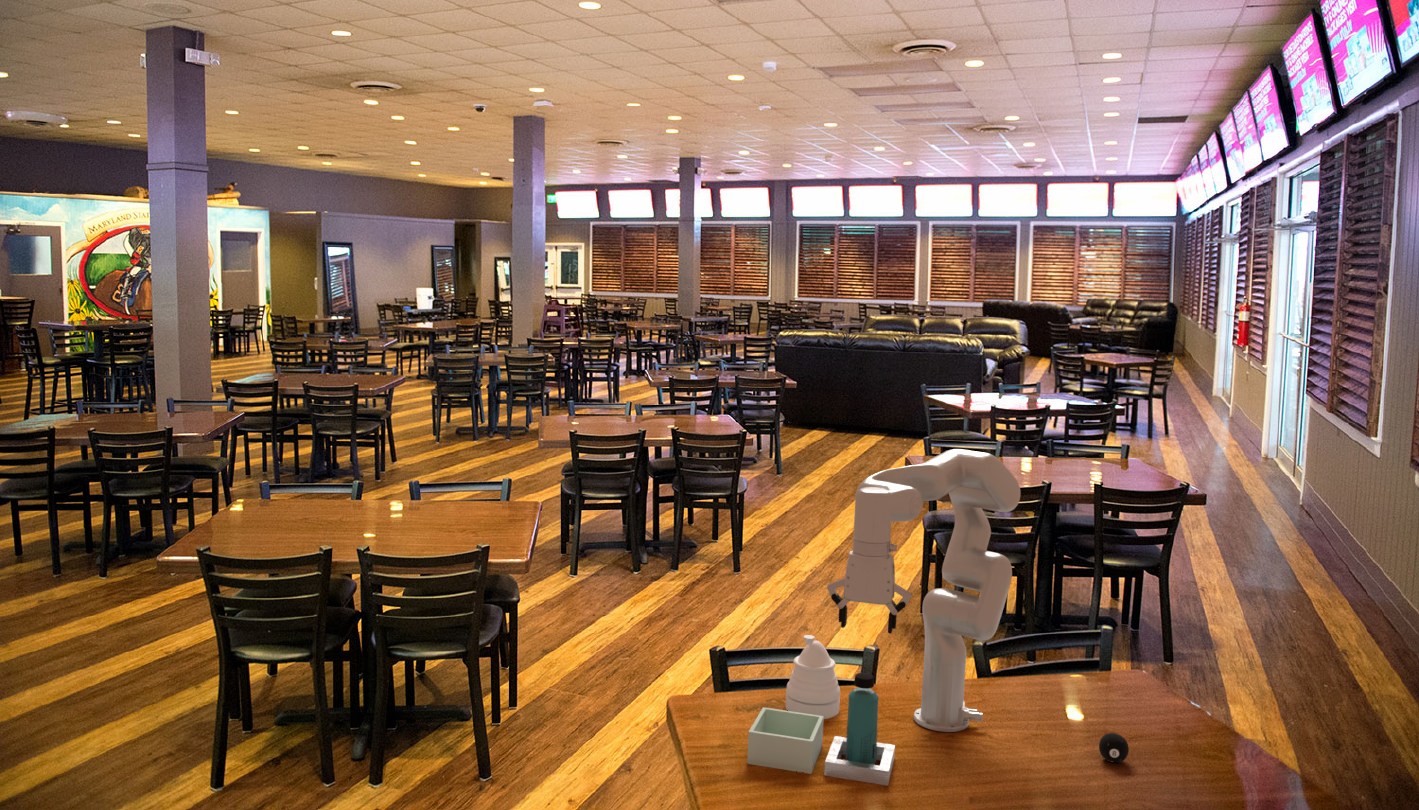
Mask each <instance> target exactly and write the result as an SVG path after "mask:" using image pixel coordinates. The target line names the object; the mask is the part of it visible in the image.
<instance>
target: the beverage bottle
mask: <svg viewBox="0 0 1419 810" xmlns="http://www.w3.org/2000/svg"><path fill="white" fill-rule="evenodd" d="M853 685H854V686H855V687H856V688H854V689H852V690H851V691H850V692H849V693H848V705H847V711H848V712H847V723H846V738H847V746H846V752H845V753H846V754H845V755H844V756H845V758H846V759H845V760H846V761H853V762H859V763H866V764H872V765H875V763H876V761H877V760H876V758H877V757H876V755H877V748H876V743H877V742H878V737H879V736H878V733H879V732H878V731H879V729H878V722H879V721H878V720H879V717H878V713H879V699H880V698H879V697H880V696H879V695H878V694H877V693H876V692H875V690H873V689H872V688H874V686H875V680H874V675H872V674H871V673H867V672H858V673H856V674H855V676H854V681H853Z"/></svg>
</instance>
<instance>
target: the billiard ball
mask: <svg viewBox="0 0 1419 810" xmlns="http://www.w3.org/2000/svg"><path fill="white" fill-rule="evenodd" d="M1098 750H1099V753H1100V755H1101V756H1102V758H1103V759H1104V758H1105V759H1104V760H1106V761H1107V760H1109V761H1108V762H1110V761H1113V762H1118V763H1122V762H1125V760H1126V758H1127V757H1128V755H1129V750H1130V747H1129V744H1128V741H1127V740H1126V738H1125V737H1124V736H1122V735H1120V734H1119V733H1116V732H1115V733H1114V732H1113V733H1112V732H1111V733H1110V732H1108V733H1106V734H1104V735H1103V736H1102V737H1100V740H1099V744H1098ZM1113 762H1112V763H1113Z"/></svg>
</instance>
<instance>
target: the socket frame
mask: <svg viewBox="0 0 1419 810" xmlns="http://www.w3.org/2000/svg"><path fill="white" fill-rule="evenodd" d="M846 746H847V737H844V736H843V737H842V736H838V735H834V737H833V740H832V742H831V744H830V747H829V751H828V753H827V756H826V758H825V761H824V774H823V775H824V776H826V777H833V778H839V779H844V780H850V781H856V782H857V781H858V782H863V783H869V784H876V785H881V786H886V787H887V786H889V783H890V779H891V774H892V770H893V766H894V761H895V754H896V745H895V744H891V743H883V742H878V741H877V743H876V748H877V755H876V757H877V758H876V761H880V764H879V765H877V764H873V765H872V764H866V763H859V762H853V761H847V759H842V755H843V756H846V755H845V754H846V753H845V752H846Z"/></svg>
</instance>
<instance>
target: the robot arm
mask: <svg viewBox="0 0 1419 810" xmlns="http://www.w3.org/2000/svg"><path fill="white" fill-rule="evenodd" d="M946 495H949V498H950V502H951V506H952V509H953V514H954V527H953V531H952V534H951V538H950V540H949V543H948V546H947V551H946V553H945V556H944V560H943V563H942V567H941V573H942V574H941V575H942V578H943V579H944V581H946V582H947V583H949V584H951V585H954V586H957V587H960V588H963V589H969V590H972V591H976V592H980V593H979V596H978V595H974V594H969V593H966V592H963V591H958V590H954V589H951V588H950V589H949V588H945V587H944V588H943V587H941V588H939V587H938V588H934V589H932V590H930V591H928V592H927V593H926V595H925V596H924V598H923V601H922V619H923V625H924V626H923V627H924V651H923V652H924V654H923V656H924V657H923V668H922V669H923V671H922V673H923V674H922V685H921V705H920V708H917V709H916V710H915V711H914V712H913V720H914V721H915V723H917V725H919V726H921V727H923V728H925V729H928V730H932V731H936V732H942V733H955V732H957V733H958V732H961V731H964V730H965V729H968V727H969V725H970V721H971V720H972V721H975V722H981V723H982V722H983V712H978V709H976V708H975V709H974V708H968V707H967V706H965V704H966V703H965V701H964V697H965V695H964V694H965V680H966V679H965V678H966V665H967V662H966V661H967V648H966V643H965V641H964V638H963V637H966V638H970V639H973V640H977V641H988V640H990V639H992V638H993V636H994V635H995V634H996V632H997V630H998V627H999V624H1000V620H1001V618H1002V615H1003V610H1004V608H1005V604H1006V601H1007V598H1008V594H1009V591H1010V587H1011V583H1012V578H1013V570H1012V569H1013V568H1012V564H1011V561H1010V560H1009V558H1008V557H1006V555H1003V554H1001V553H999V552H994V551H990V550H988V546H989V542H990V538H991V535H992V529H991V526H990V522H989V519H988V518H987V516H986V513H985V511H984V510H988V511H993V512H999V513H1008V512H1011V511H1014V510H1015V509H1016V507H1017V506H1018V505H1019V502H1020V499H1021V488H1020V483H1019V482H1018V480H1017V478H1016V477H1015V475H1014V474H1013V473H1012V472H1011V470H1009V469H1008V467H1007V466H1006V465H1005V464H1004V462H1003V461H1001V460H1000V459H999V458H998V457H996V456H995V455H993V454H991V453H989V452H984V451H983V452H982V451H975V450H969V449H963V448H953V449H949V450H946V451H943V452H942V453H940V454H938V455H936V456H933V458H930V459H929V460H927V461H924V462H922V463H919V464H912V465H911V464H910V465H906V466H902V467H895V468H888V469H885V470H881V471H879V472H876V473H874V474H872V475H870V476H868V477H866V478H865V479H863V481H861V483H859V485H858V486H857V489H856V491H855V495H854V496H855V497H854V501H855V502H854V517H853V518H854V519H853V520H854V522H853V540H852V550H850V551H849V553H848V557H847V562H846V568H845V574H844V577H843V578H840V579H837V580H835V581H833V582H831V583H828V584H827V585H826V588H827V591H828V594H829V595H830V599H831V600H832V601H833V603H835V605H836V606H837V608H838V623H840V627H841V628H843V629H844V628H846V625H847V623H848V622H847V621H848V606H847V604H848V603H850V602H854V603H855V602H856V603H861V604H870V605H871V604H872V605H883V606H884V605H885V606H886V608H887V610H889V613H888V620H887V621H888V622H887V623H888V625H887V633H888V634H890V635H891V634H892V633H893V629H894V630H896V628H897V617H898V613H900V612H901V611H902V610H903V609H905V608H906V606H907V605H908V603H909V602H910V600H911V597H913V596H912V593H911V592H910V591H908V590H907V589H905V588H903V587H902V586H900V585H899V584H897V583H896V576H895V575H896V570H895V569H896V568H895V567H896V566H895V558H894V555H893V554H892V552H897V551H898V544H894V543H892V541H891V531H892V523H893V522H904V523H905V522H910V521H912V520H914V519H916V518H917V517H918V516H919V515H920V514H921V512H922V509H923V507H924V506H923V505H924V502H927V501H928V502H929V501H930V502H931V501H936V500H939V499H942V498H943V497H944V496H946ZM842 587H843V596H842V597H841V596H840V595H839V594H838V593H837V590H836V589H838V588H842ZM895 593H896V594H898V595H899V596H901V597H902V599H901V600H900V601H899V602H898V603H896V602H895V601H894V600H893V599H894V597H895Z"/></svg>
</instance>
